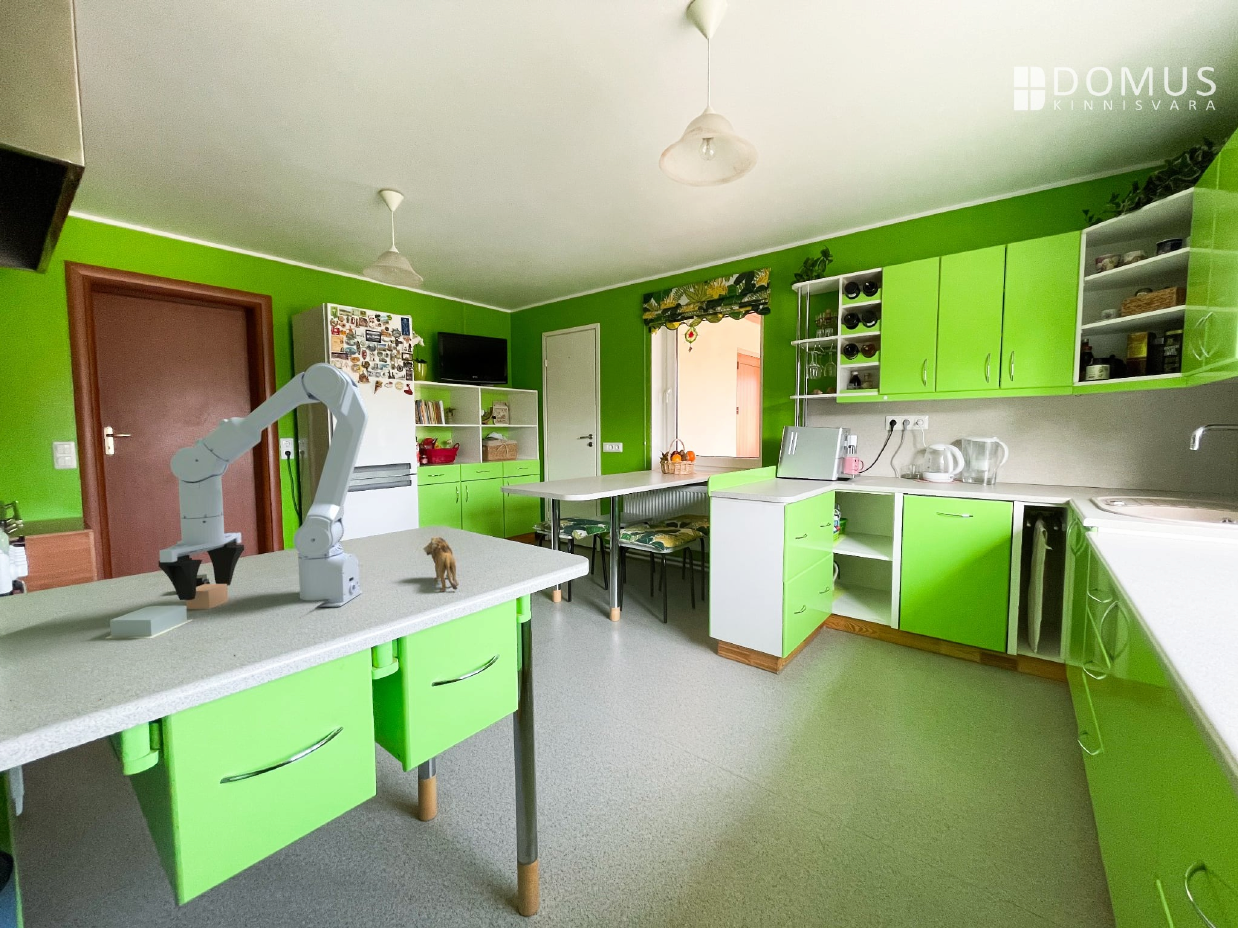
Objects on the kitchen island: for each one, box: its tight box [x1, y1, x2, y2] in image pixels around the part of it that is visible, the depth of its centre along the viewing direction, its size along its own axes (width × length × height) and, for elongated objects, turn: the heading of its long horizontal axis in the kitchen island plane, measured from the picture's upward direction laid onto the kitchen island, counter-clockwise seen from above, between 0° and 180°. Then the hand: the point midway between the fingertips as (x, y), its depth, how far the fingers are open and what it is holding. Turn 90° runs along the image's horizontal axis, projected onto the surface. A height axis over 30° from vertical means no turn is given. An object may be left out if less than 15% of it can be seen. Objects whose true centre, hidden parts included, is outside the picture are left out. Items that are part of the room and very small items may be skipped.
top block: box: [185, 583, 229, 610], centre depth 85 cm, size 4×4×4 cm
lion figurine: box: [422, 536, 459, 592], centre depth 101 cm, size 15×5×9 cm, turn 38°
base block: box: [109, 605, 188, 637], centre depth 74 cm, size 6×6×2 cm
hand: (206, 592), depth 85 cm, fingers open, 7 cm apart
